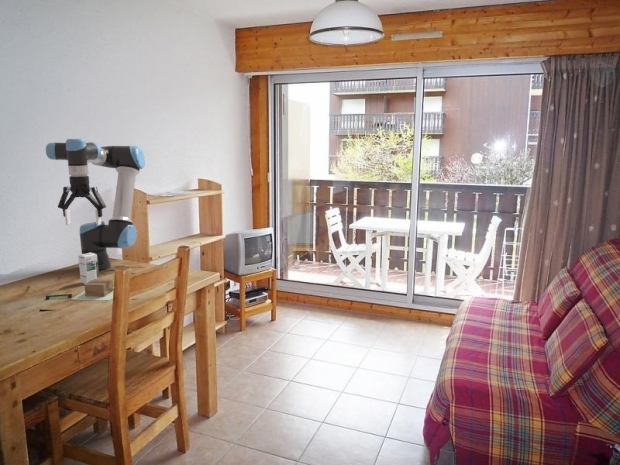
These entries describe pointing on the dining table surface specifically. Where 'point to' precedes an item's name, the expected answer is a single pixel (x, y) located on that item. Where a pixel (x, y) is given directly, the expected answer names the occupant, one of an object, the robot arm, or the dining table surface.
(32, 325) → the dining table surface
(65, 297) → the calculator
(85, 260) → the syrup box
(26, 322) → the dining table surface
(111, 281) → the walnut block
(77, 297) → the plate
